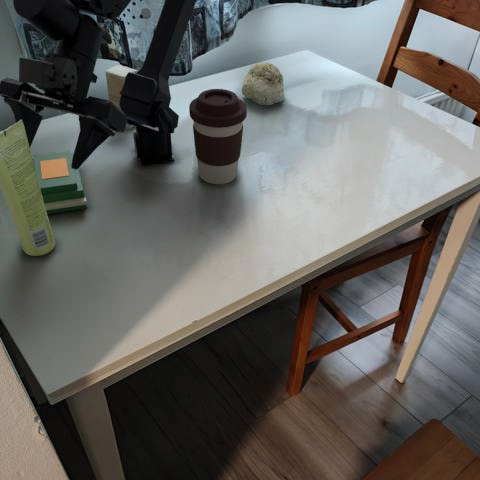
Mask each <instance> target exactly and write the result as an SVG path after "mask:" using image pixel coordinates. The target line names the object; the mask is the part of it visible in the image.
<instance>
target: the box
mask: <svg viewBox="0 0 480 480" xmlns="http://www.w3.org/2000/svg"><path fill="white" fill-rule="evenodd" d="M104 72H105V79H106V87H107V95H108V100H109V101H111V102H112V103H113V104H115V105H116V106H117V107H118V108H119V109H120V110H121V108H120V106H119V101H120V97H121V95H120V94H119V93H120V91H121V90H122V88H123V86H124V82H125V77H126V75H127V74H128V73H129V72H131V73H134V74H136V73H137V72H138V70H137V69H135V68H131V67H129V66H124V65H121V64H116V65H115V66H112V67H109V68H108V69H106V70H105V71H104ZM133 128H135V126H133V125H129V124H127V123H126V126H125V129H127V130H131V129H133Z"/></svg>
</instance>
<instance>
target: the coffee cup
mask: <svg viewBox="0 0 480 480" xmlns="http://www.w3.org/2000/svg"><path fill="white" fill-rule="evenodd" d="M188 109H189V112H188V113H189V117H190V119H191V120H192V121H193V123H192V131H193V142H194V150H195V151H194V152H195V156H196V160H197V169H198V176H199V177H200V178H201V179H202V181H204V182H206V183H208V184H212V185H225V184H229V183H231V182H232V181H234V180H235V179H236V177H237V175H238V170H239V159H240V158H241V151H242V142H243V134H244V124H243V123H244V121H245V120H246V119H247V113H248V106H247V104H246V102H245V101H244V100H243V99H241V98H239V96H238V95H237V94H236V93H235V92H234V91H231V90H229V89H224V88H211V89H206V90H204V91H202V92H201V93H199V94H198V96H197V97H196V98H194V99H192V101H190V103H189V106H188Z"/></svg>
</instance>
